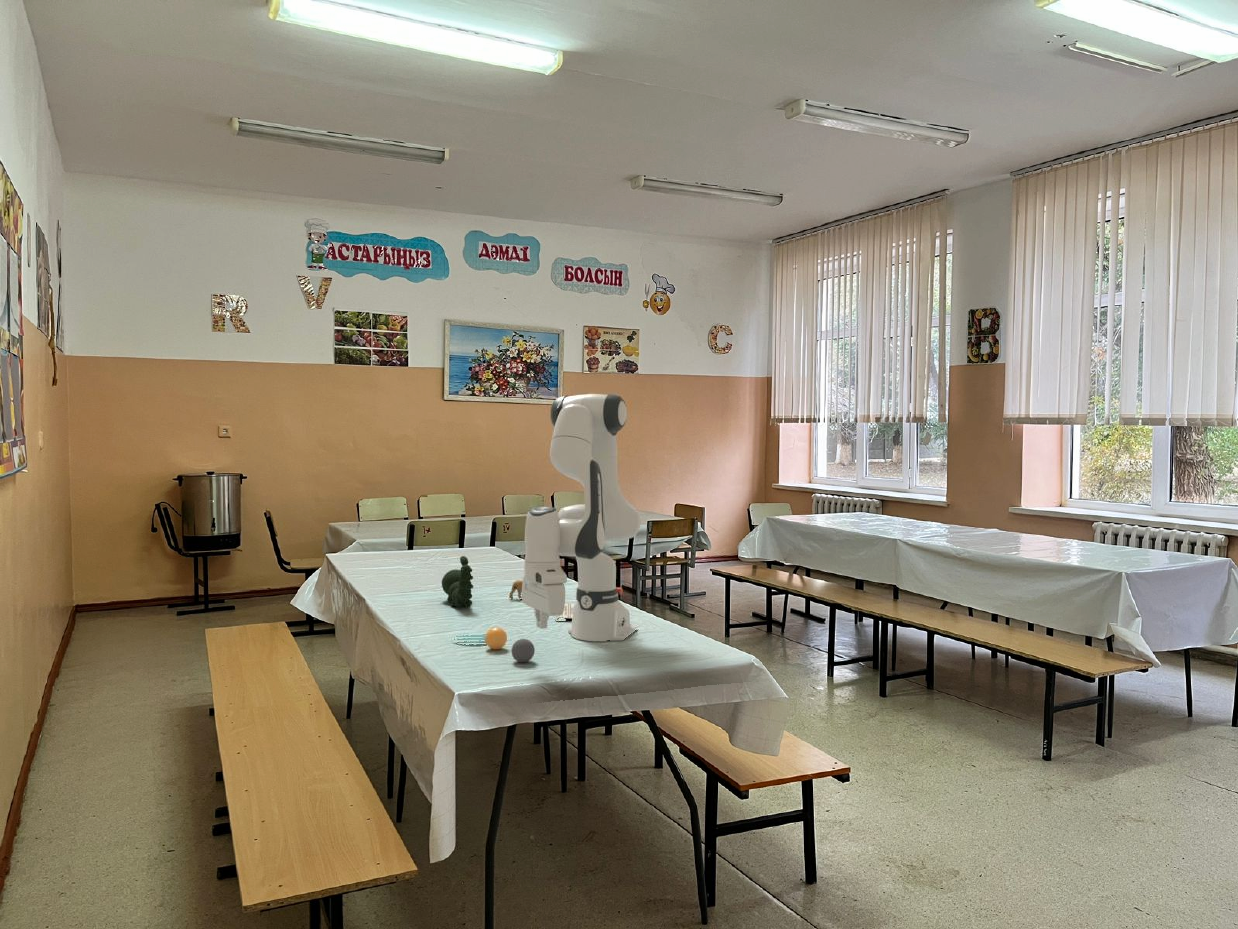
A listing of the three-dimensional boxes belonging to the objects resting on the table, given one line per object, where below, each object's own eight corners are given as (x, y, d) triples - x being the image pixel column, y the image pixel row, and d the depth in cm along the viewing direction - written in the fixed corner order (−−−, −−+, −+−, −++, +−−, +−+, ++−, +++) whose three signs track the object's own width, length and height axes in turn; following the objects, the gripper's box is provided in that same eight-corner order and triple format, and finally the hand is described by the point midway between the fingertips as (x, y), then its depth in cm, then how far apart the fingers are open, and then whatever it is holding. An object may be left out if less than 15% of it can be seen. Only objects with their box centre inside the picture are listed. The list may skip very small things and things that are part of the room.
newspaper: (551, 609, 284) (552, 601, 284) (586, 613, 285) (587, 605, 285) (549, 624, 262) (550, 616, 262) (588, 628, 262) (589, 620, 262)
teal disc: (472, 631, 248) (472, 630, 248) (510, 638, 241) (510, 637, 241) (441, 641, 236) (441, 640, 236) (480, 648, 229) (480, 648, 229)
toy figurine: (479, 615, 277) (463, 594, 300) (481, 559, 275) (465, 542, 298) (451, 617, 274) (437, 595, 296) (453, 560, 271) (438, 543, 294)
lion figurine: (528, 593, 306) (528, 569, 306) (540, 595, 304) (541, 571, 303) (505, 600, 293) (505, 575, 293) (517, 602, 291) (518, 577, 290)
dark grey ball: (520, 657, 221) (520, 635, 220) (538, 661, 218) (539, 638, 217) (506, 663, 215) (506, 640, 215) (525, 666, 212) (525, 643, 212)
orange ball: (493, 645, 233) (494, 624, 233) (511, 648, 230) (511, 626, 230) (480, 650, 228) (480, 628, 227) (498, 653, 225) (498, 631, 224)
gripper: (515, 567, 215) (515, 621, 216) (545, 578, 197) (545, 636, 197) (538, 566, 218) (538, 619, 219) (569, 577, 200) (569, 634, 200)
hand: (541, 627), depth 208 cm, fingers closed
